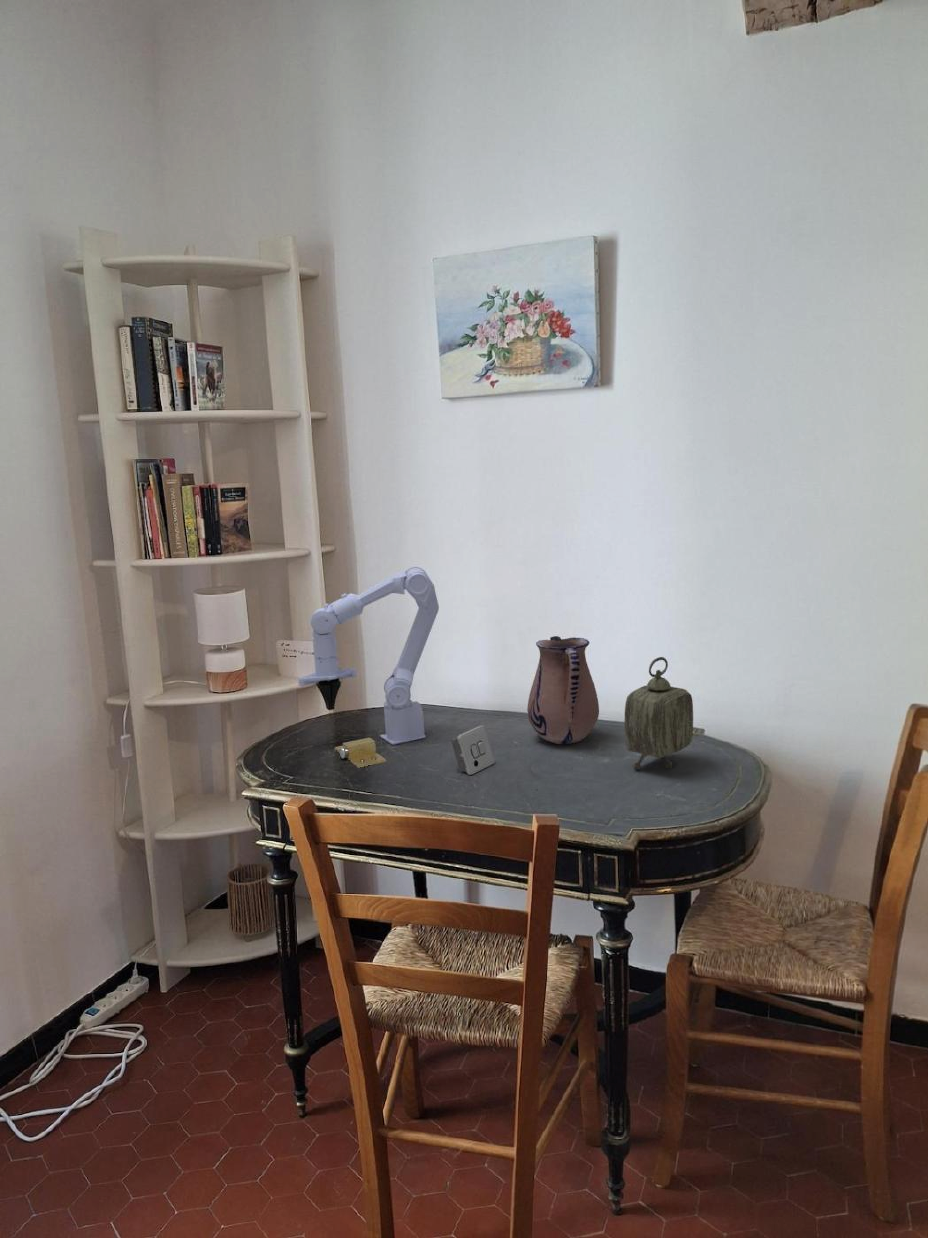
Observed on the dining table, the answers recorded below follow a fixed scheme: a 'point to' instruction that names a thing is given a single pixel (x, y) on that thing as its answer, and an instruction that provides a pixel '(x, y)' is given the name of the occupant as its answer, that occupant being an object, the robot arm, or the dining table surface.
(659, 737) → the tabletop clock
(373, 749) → the hinge leaves
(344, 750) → the hinge pin
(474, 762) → the electrical switch
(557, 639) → the ceramic pitcher
